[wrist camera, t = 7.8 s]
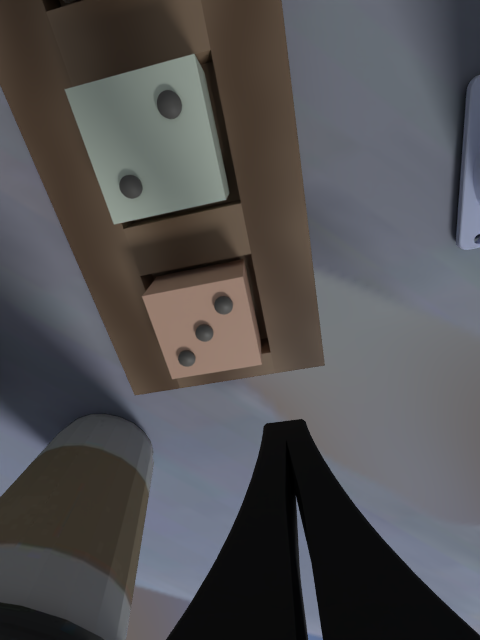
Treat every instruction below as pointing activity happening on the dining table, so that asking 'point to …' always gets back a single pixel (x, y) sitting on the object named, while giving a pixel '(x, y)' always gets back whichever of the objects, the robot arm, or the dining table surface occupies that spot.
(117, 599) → the coffee cup
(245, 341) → the tile three pip
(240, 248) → the board
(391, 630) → the robot arm
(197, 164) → the tile two pip
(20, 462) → the dining table surface
